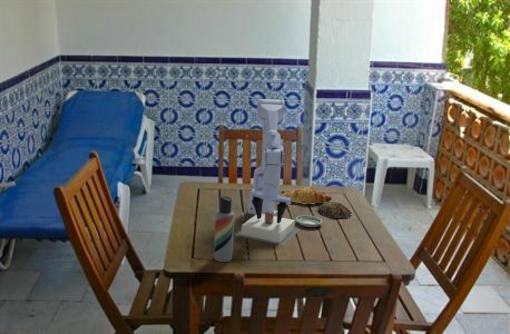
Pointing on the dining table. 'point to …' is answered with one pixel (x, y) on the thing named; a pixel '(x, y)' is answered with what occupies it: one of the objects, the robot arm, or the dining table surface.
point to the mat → (271, 241)
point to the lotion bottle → (224, 230)
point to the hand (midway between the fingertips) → (268, 220)
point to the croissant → (307, 196)
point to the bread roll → (334, 210)
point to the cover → (268, 227)
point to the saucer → (309, 221)
